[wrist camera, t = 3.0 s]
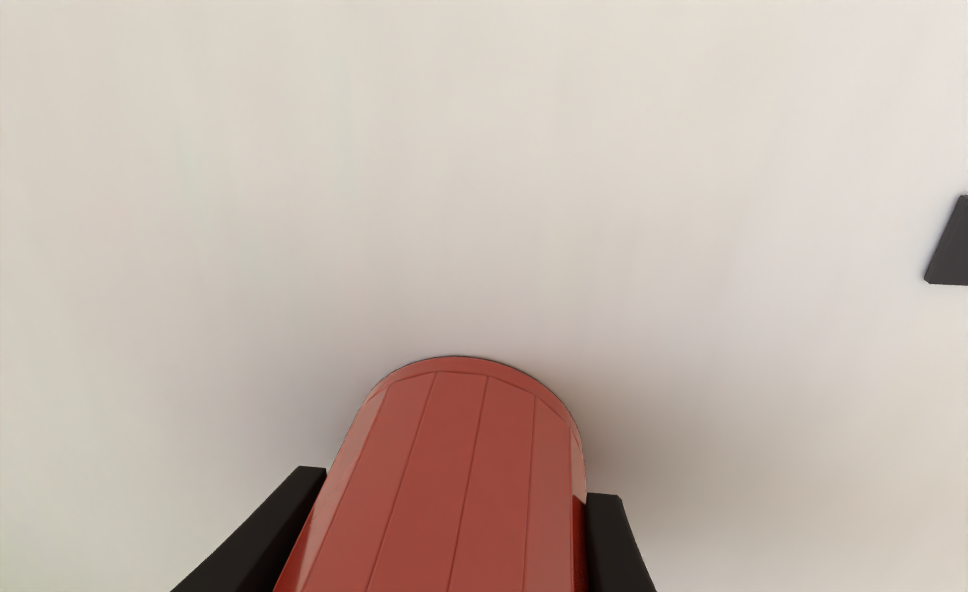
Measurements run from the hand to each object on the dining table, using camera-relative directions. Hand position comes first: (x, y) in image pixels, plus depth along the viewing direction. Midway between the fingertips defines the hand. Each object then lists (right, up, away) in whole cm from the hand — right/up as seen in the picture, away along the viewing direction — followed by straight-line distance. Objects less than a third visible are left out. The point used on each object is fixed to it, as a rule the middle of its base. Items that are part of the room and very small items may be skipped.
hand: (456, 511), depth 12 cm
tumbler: (0, +1, +2) cm, 2 cm away
